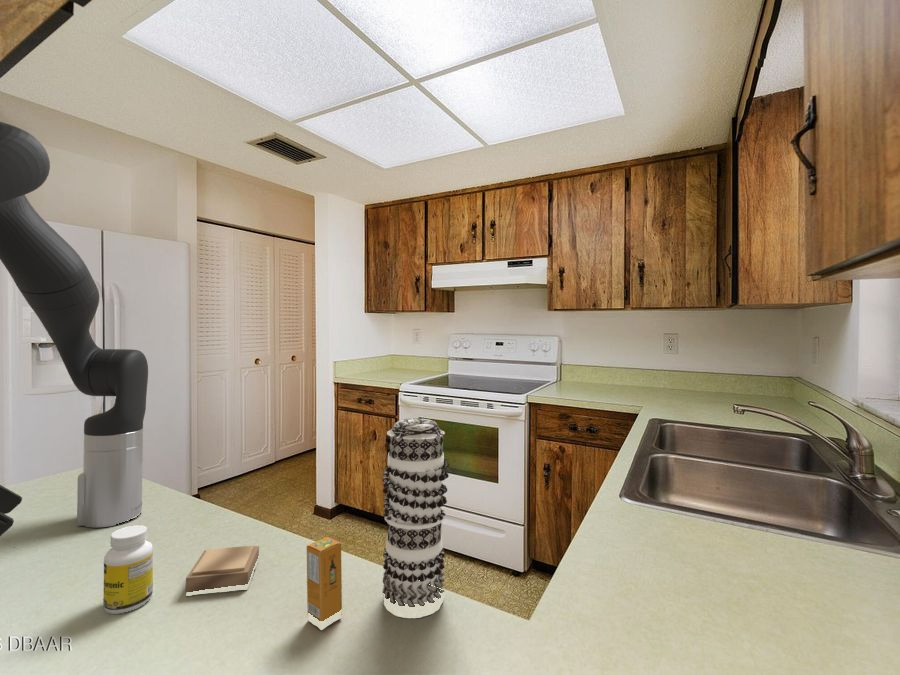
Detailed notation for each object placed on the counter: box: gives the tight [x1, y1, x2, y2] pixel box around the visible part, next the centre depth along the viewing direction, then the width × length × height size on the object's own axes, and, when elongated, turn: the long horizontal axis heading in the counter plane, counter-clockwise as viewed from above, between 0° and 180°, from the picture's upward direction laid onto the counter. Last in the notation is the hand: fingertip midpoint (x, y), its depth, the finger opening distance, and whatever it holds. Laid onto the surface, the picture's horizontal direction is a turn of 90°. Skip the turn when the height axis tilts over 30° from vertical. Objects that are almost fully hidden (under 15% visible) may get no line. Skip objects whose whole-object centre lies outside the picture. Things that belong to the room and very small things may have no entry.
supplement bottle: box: [102, 524, 154, 615], centre depth 59 cm, size 5×5×10 cm
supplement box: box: [306, 536, 343, 621], centre depth 56 cm, size 3×3×10 cm
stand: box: [185, 545, 260, 593], centre depth 66 cm, size 8×8×3 cm
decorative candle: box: [382, 417, 450, 607], centre depth 61 cm, size 9×9×25 cm
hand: (11, 517), depth 52 cm, fingers open, 8 cm apart
